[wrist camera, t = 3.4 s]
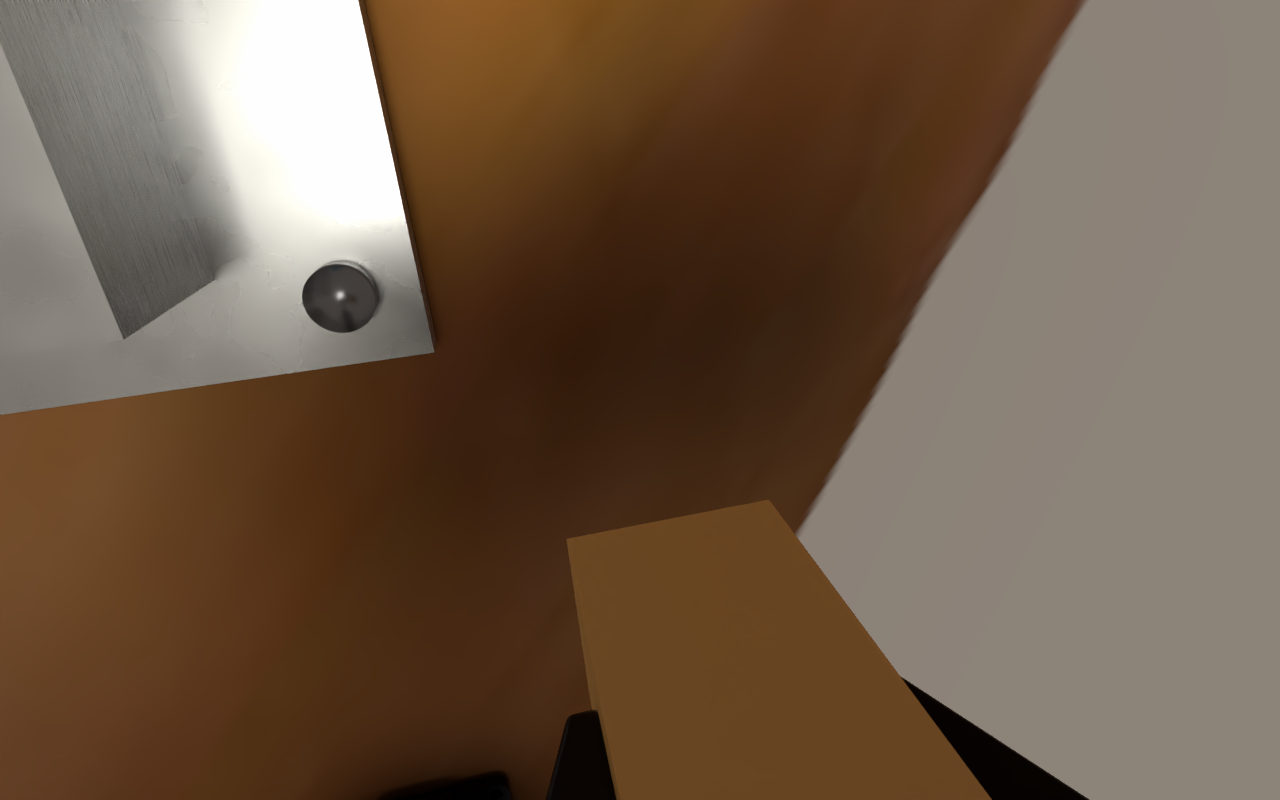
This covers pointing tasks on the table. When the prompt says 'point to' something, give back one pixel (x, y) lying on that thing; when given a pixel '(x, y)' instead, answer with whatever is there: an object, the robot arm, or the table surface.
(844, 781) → the wedge pin
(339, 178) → the bracket collar
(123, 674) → the table surface
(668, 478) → the table surface
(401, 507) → the table surface
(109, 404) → the table surface
